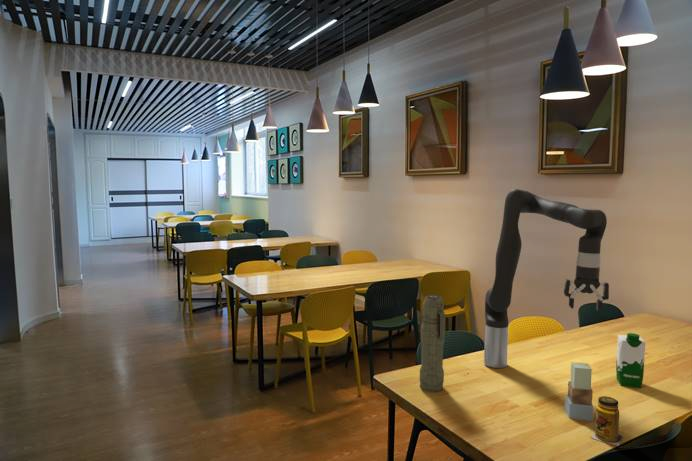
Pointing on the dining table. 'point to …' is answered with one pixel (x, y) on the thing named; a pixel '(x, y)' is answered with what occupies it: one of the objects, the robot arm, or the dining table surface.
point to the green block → (581, 375)
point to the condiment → (607, 421)
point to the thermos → (432, 344)
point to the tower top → (579, 395)
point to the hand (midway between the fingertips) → (584, 309)
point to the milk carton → (630, 360)
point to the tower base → (578, 410)
